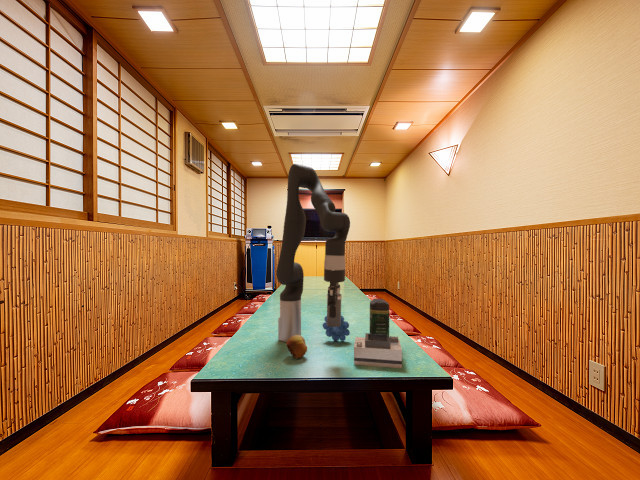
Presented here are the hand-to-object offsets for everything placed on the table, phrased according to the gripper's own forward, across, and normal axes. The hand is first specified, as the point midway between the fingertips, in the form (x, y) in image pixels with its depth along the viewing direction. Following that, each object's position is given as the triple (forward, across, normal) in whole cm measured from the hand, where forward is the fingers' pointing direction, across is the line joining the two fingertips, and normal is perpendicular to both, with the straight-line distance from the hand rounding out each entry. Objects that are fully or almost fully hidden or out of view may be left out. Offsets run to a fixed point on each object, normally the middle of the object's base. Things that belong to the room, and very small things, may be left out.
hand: (333, 315), depth 103 cm
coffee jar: (+16, -19, +16) cm, 30 cm away
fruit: (+17, 0, -13) cm, 21 cm away
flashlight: (+3, 0, 0) cm, 3 cm away
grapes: (+16, -19, -2) cm, 25 cm away
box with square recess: (+16, -3, +16) cm, 22 cm away
